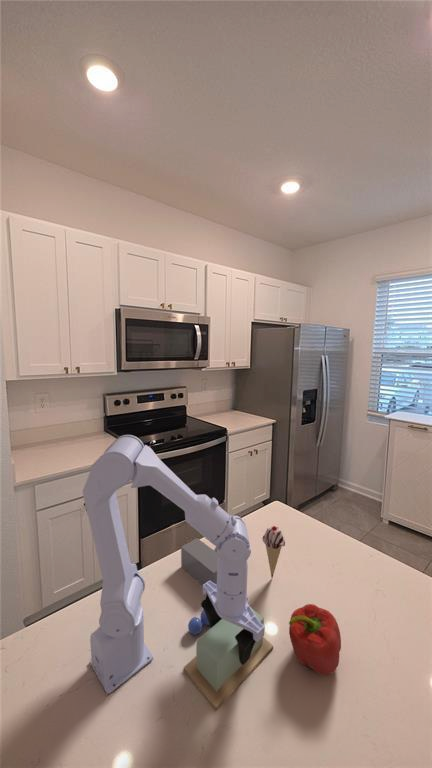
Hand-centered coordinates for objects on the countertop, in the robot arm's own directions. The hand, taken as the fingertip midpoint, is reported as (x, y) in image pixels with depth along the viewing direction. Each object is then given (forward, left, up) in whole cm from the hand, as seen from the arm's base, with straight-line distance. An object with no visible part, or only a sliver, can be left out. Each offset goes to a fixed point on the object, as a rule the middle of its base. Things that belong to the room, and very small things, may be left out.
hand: (230, 645), depth 62 cm
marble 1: (-1, +9, -3) cm, 10 cm away
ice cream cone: (+23, +7, -3) cm, 24 cm away
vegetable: (+12, -11, -3) cm, 17 cm away
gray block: (+11, +20, -3) cm, 23 cm away
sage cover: (0, 0, -2) cm, 2 cm away
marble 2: (+2, +9, -3) cm, 10 cm away
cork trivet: (0, 0, -3) cm, 3 cm away
